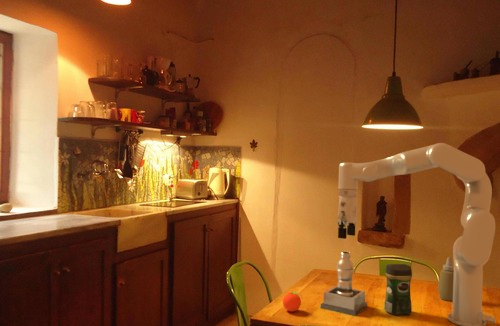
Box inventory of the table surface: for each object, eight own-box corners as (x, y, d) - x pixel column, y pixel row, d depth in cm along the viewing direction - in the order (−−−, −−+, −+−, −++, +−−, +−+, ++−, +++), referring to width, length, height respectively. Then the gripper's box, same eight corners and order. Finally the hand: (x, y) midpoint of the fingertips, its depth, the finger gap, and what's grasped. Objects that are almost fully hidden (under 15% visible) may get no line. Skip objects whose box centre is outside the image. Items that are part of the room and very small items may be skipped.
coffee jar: (403, 308, 168) (404, 261, 168) (414, 315, 160) (416, 266, 160) (380, 309, 166) (382, 262, 166) (391, 316, 158) (392, 266, 158)
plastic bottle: (353, 306, 163) (354, 254, 164) (336, 305, 165) (337, 253, 165) (353, 301, 170) (353, 251, 170) (335, 300, 171) (336, 250, 171)
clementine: (297, 307, 166) (298, 288, 166) (306, 313, 159) (307, 294, 159) (279, 308, 163) (279, 290, 163) (287, 315, 156) (287, 295, 156)
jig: (367, 306, 169) (367, 291, 169) (355, 315, 158) (355, 299, 158) (334, 299, 177) (334, 284, 177) (320, 307, 165) (321, 292, 165)
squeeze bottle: (437, 300, 181) (438, 257, 181) (438, 295, 188) (439, 254, 188) (458, 303, 177) (459, 260, 177) (458, 298, 184) (459, 257, 184)
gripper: (349, 195, 158) (348, 240, 158) (364, 193, 173) (363, 235, 173) (330, 193, 162) (329, 238, 162) (346, 192, 177) (345, 233, 177)
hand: (346, 236), depth 168 cm, fingers open, 9 cm apart
